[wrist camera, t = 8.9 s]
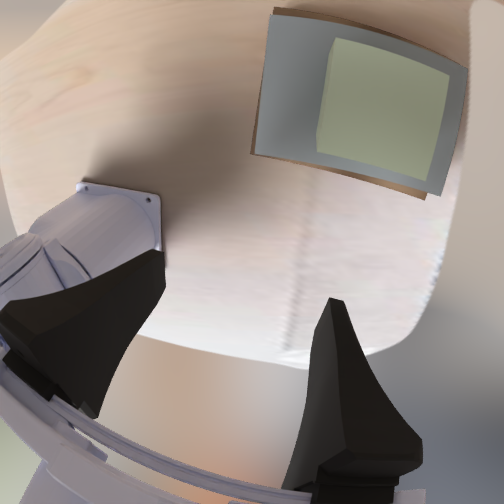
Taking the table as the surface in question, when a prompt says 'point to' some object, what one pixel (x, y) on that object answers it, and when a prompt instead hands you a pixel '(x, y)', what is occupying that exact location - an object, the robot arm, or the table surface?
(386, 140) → the sage cube
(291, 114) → the slate slab
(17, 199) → the table surface
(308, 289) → the table surface
